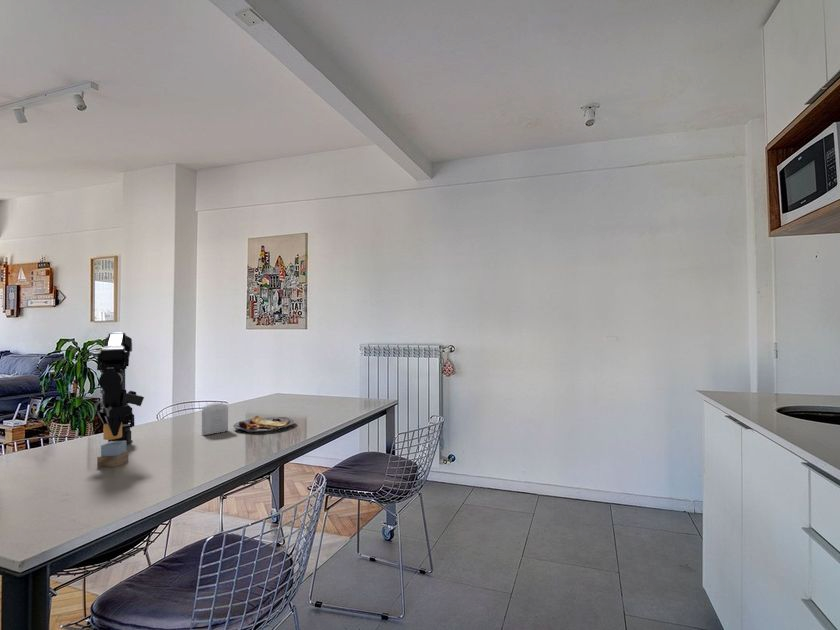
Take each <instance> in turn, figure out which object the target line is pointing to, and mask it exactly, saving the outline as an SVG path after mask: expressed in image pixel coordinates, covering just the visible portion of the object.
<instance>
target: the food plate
mask: <svg viewBox="0 0 840 630" xmlns="http://www.w3.org/2000/svg"><path fill="white" fill-rule="evenodd" d="M295 423H296V420H295V419H292V418H290V417H286V416H285V417H284V416H281V417H280V416H274V417H273V416H271V417H270V416H269V417H268V416H267V417H260V416H259V415H255V416H253V418H251V419H245V420H241V421H238V422H236V423H235V424H234V425H233V428H234V429H239V430H242V431H244V432H247V433H258V432H259V433H262V432H263V433H264V431H266V432H273V431H277V430H280V429H283V428H287V427H288V426H291V425H294V424H295ZM260 426H261V427H260ZM279 427H280V428H279ZM257 429H267V430H257Z"/></svg>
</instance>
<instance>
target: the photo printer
mask: <svg viewBox="0 0 840 630" xmlns="http://www.w3.org/2000/svg"><path fill="white" fill-rule="evenodd" d="M225 431H227V432H228V431H229V406H228V404H227V403H223V402H213V403H208V404H206V405H203V407H202V409H201V435H202V436H209V435H214V433H215V434H220V432H221V433H226V432H225Z"/></svg>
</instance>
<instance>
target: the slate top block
mask: <svg viewBox="0 0 840 630" xmlns="http://www.w3.org/2000/svg"><path fill="white" fill-rule="evenodd" d="M126 451H127V444H126V441H110V442H105V443H104V444H101V445H100V456H118V455H120V454H122V453H124V452H126Z"/></svg>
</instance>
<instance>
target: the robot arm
mask: <svg viewBox="0 0 840 630" xmlns="http://www.w3.org/2000/svg"><path fill="white" fill-rule="evenodd" d="M103 344H104V346H102V347H101V350H100V351H98V353H97V354H98V355H97V366H96V371H102V373H101V375H100V377H99V379H98V384H99V387H100V388H101V389H100V394H101V400H99V401H96V402H95V404H94V411H96V413H97V415H98V417H99V418H100V420H101V422H102V424H103V425H104V424H107V423H108V425H109V428H110V430H111V432H112V434H113V436H117V435H118V432H119V428H120V425H121V422H122V437H121V438H118V439H112V440H107V441H108V442H110V441H126V445H128V444H130V443H132V442H133V440H132V430H131V428H133V427H135V414H134V413H133V407H132V406H130V404H131V405H136V406H138V407H141V406H142V404H143V401H144V399H145V396H142V395H138V394H137V392H136V391H133V390H129V391H128V392H127V389H126V370H127V367H129V366H130V365H129V364H130V356H131V353H132V351H133V340H132V338H131V337H129V336H128V335H127V334H126V332H123V331H118V332H117V331H116V332H115V331H114V332H113V331H112V332H109V333H108V336H107V337H106V338H105V339H104V343H103ZM108 442H107V443H108Z"/></svg>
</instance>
